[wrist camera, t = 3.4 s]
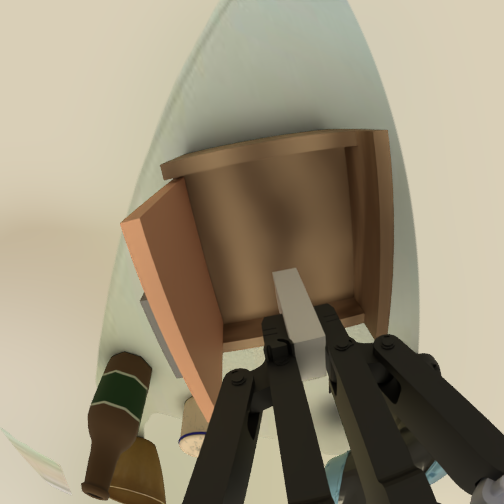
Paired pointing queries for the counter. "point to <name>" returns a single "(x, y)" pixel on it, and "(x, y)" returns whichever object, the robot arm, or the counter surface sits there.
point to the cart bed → (295, 225)
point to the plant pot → (138, 476)
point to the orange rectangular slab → (178, 290)
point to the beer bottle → (115, 419)
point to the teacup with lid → (192, 428)
